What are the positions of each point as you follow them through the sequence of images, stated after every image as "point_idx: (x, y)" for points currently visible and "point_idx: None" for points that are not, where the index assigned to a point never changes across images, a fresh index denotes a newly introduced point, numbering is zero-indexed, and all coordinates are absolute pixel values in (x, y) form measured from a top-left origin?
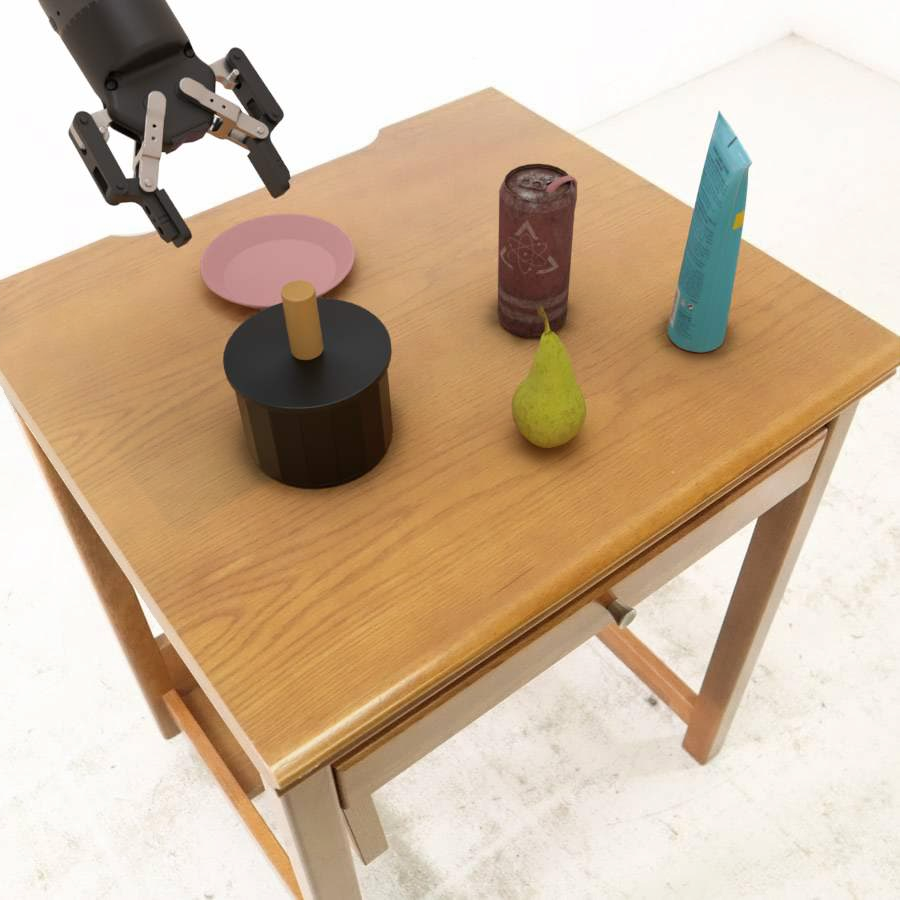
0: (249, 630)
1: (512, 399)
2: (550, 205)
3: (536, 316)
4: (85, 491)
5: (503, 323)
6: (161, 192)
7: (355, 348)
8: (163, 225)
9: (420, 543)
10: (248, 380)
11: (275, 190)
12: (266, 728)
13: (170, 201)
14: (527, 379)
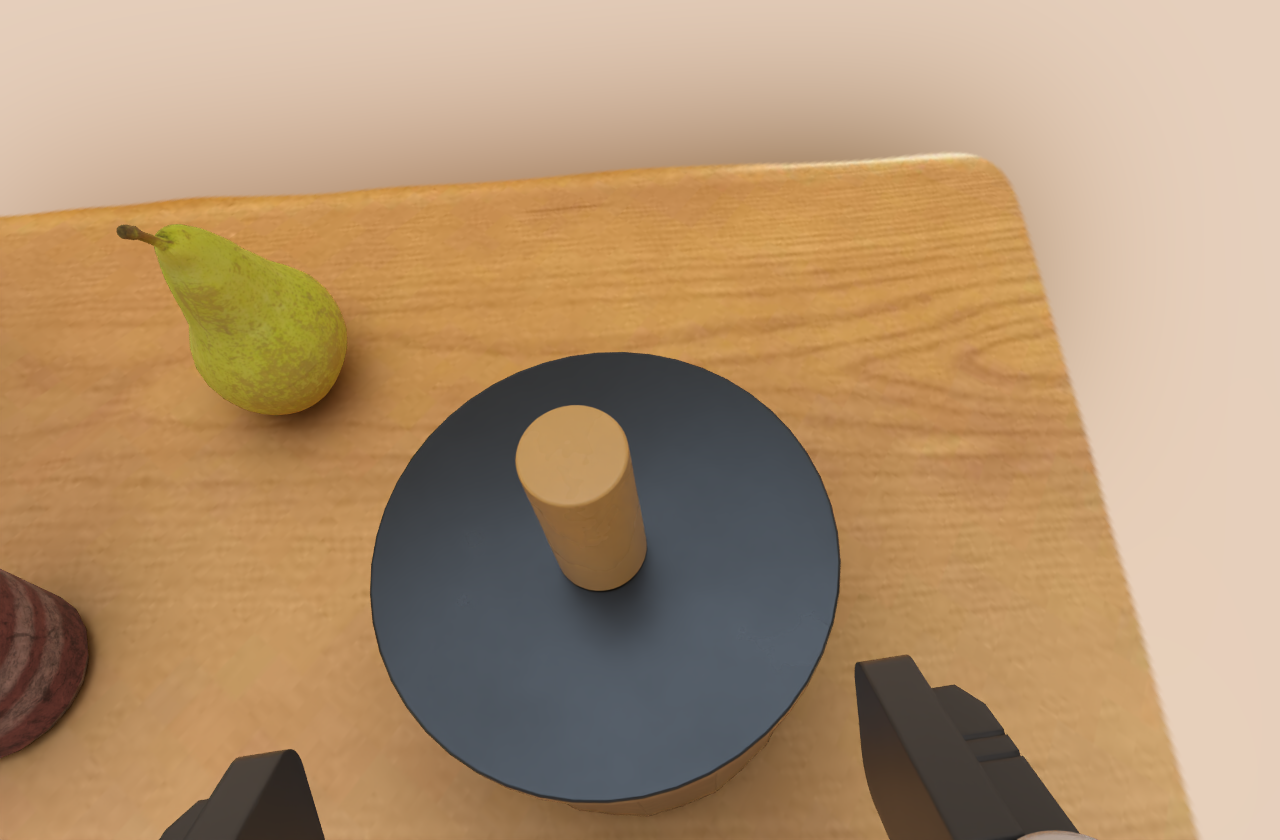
0: (959, 327)
1: (304, 371)
2: None
3: (32, 587)
4: (1195, 826)
5: (78, 677)
6: (978, 828)
7: (500, 478)
8: (993, 731)
9: (633, 322)
10: (795, 533)
11: (305, 825)
12: (993, 194)
13: (929, 777)
14: (262, 321)
